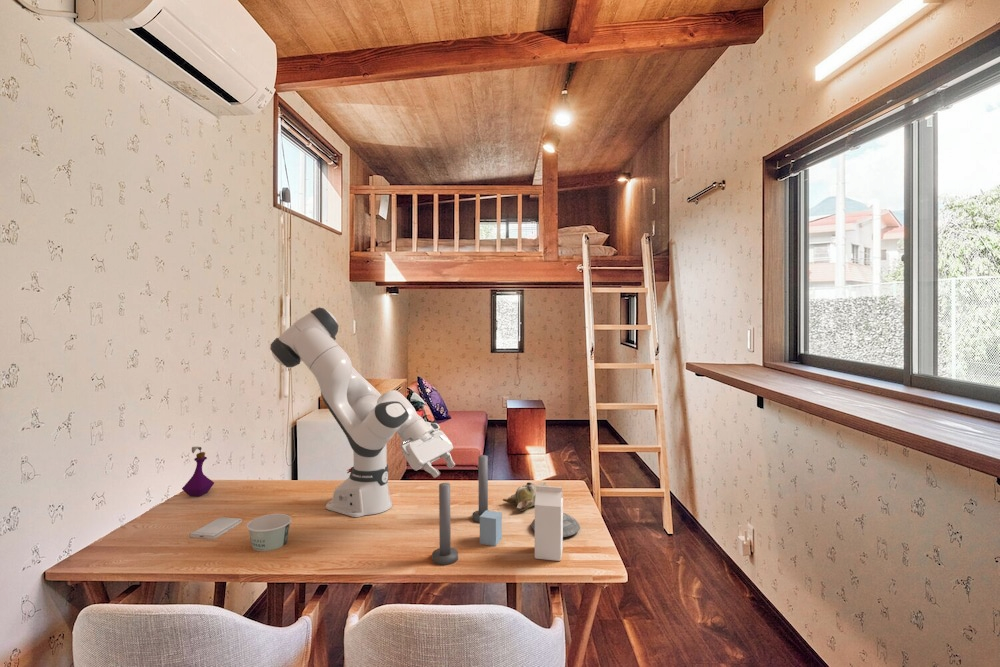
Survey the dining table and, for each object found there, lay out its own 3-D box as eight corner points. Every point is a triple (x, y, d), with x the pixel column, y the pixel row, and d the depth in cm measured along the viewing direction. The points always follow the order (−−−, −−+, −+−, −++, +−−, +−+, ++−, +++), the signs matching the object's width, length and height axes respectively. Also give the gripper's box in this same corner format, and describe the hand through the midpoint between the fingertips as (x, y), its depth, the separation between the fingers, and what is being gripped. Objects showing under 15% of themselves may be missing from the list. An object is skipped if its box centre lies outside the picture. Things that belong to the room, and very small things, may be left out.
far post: (469, 521, 161) (468, 458, 160) (477, 513, 168) (477, 452, 167) (489, 524, 159) (489, 460, 158) (497, 516, 166) (497, 454, 165)
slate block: (479, 543, 146) (479, 516, 146) (486, 536, 151) (485, 510, 150) (495, 546, 144) (495, 518, 144) (501, 538, 149) (501, 512, 149)
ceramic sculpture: (553, 482, 172) (515, 492, 165) (555, 507, 172) (516, 518, 166) (537, 474, 181) (500, 483, 175) (539, 497, 182) (502, 507, 175)
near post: (427, 562, 135) (426, 487, 134) (439, 550, 142) (438, 479, 141) (451, 567, 133) (450, 490, 132) (462, 554, 139) (461, 481, 138)
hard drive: (219, 516, 163) (189, 533, 151) (241, 518, 161) (213, 535, 149) (219, 521, 163) (189, 538, 151) (242, 523, 161) (213, 540, 149)
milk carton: (560, 561, 135) (560, 492, 135) (534, 559, 137) (534, 490, 136) (562, 549, 142) (563, 483, 142) (537, 547, 144) (537, 481, 143)
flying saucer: (589, 530, 155) (589, 512, 155) (559, 546, 145) (559, 527, 144) (551, 516, 166) (551, 500, 166) (521, 530, 155) (521, 513, 155)
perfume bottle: (196, 490, 190) (195, 443, 189) (214, 491, 189) (213, 443, 188) (181, 497, 182) (180, 448, 182) (200, 498, 181) (199, 449, 181)
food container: (237, 552, 141) (236, 529, 141) (263, 533, 153) (262, 512, 153) (277, 554, 140) (276, 531, 139) (300, 535, 151) (299, 514, 151)
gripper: (404, 436, 143) (434, 475, 139) (440, 422, 162) (467, 456, 158) (391, 450, 144) (420, 488, 141) (427, 434, 163) (454, 468, 160)
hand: (445, 471), depth 150 cm, fingers open, 8 cm apart
